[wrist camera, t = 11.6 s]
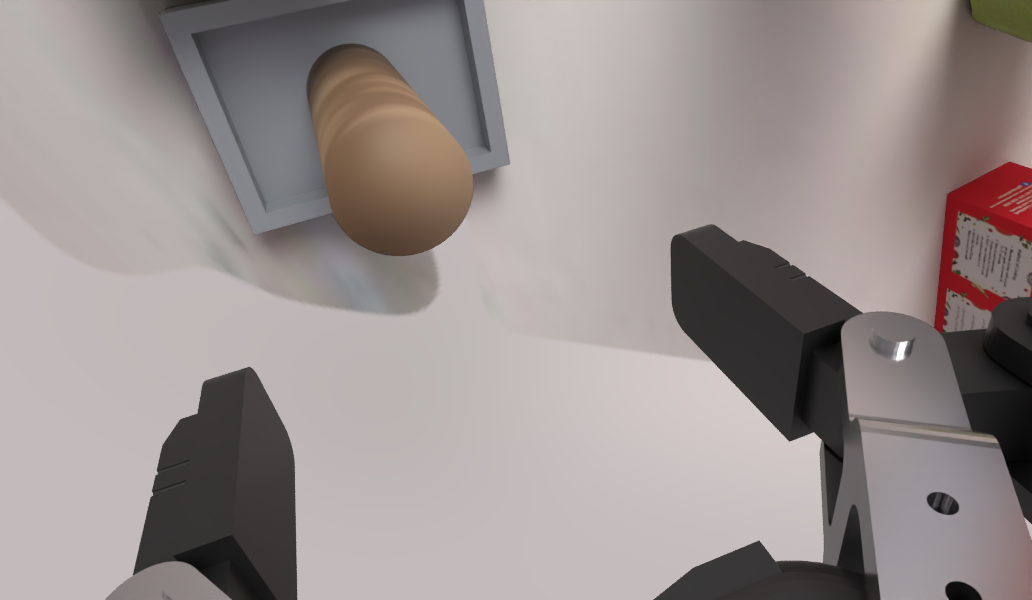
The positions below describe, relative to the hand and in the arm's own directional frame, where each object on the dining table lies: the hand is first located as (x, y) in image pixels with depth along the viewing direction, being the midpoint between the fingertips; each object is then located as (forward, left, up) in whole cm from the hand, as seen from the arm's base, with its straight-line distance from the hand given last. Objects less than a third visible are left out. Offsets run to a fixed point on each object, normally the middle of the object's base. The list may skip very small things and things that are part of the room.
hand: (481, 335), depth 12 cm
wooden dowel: (0, 0, -19) cm, 19 cm away
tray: (0, 0, -20) cm, 20 cm away
